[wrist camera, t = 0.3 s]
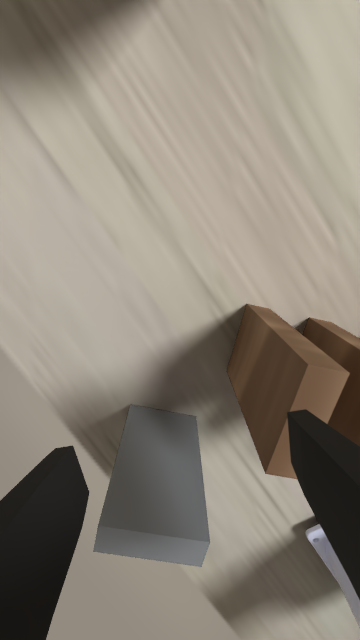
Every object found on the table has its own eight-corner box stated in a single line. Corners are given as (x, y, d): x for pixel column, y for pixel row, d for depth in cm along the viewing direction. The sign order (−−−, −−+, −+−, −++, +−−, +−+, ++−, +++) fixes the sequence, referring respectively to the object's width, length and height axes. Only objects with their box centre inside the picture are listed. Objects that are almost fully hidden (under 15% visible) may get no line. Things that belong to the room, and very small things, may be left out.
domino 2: (269, 308, 19) (349, 373, 10) (248, 374, 20) (302, 479, 12) (246, 303, 19) (308, 364, 10) (226, 370, 20) (265, 473, 11)
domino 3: (331, 322, 19) (458, 395, 10) (305, 386, 21) (399, 496, 12) (309, 317, 19) (419, 387, 10) (284, 382, 20) (364, 490, 12)
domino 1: (130, 404, 21) (98, 525, 12) (196, 416, 21) (210, 542, 13) (126, 422, 21) (93, 551, 13) (191, 434, 22) (201, 566, 13)
